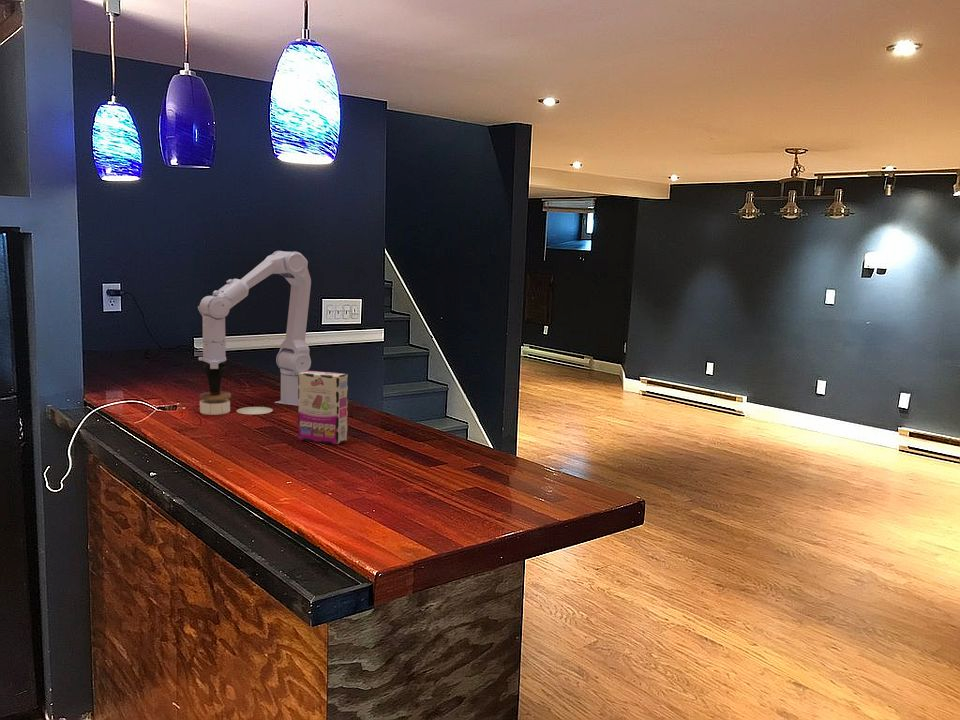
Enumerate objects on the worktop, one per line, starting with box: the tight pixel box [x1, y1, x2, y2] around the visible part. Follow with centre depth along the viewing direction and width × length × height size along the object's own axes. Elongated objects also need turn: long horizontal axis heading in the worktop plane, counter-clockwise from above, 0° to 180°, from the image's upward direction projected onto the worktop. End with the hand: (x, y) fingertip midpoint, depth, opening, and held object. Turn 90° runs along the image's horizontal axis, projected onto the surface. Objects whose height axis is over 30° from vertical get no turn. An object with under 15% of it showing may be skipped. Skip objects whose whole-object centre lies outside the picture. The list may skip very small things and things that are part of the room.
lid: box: [199, 389, 232, 400], centre depth 209 cm, size 8×8×5 cm
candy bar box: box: [297, 370, 349, 445], centre depth 186 cm, size 11×5×16 cm, turn 70°
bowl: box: [199, 398, 231, 416], centre depth 210 cm, size 8×8×4 cm
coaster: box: [236, 406, 274, 415], centre depth 213 cm, size 10×10×1 cm
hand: (214, 391), depth 209 cm, fingers closed on lid, 3 cm apart
